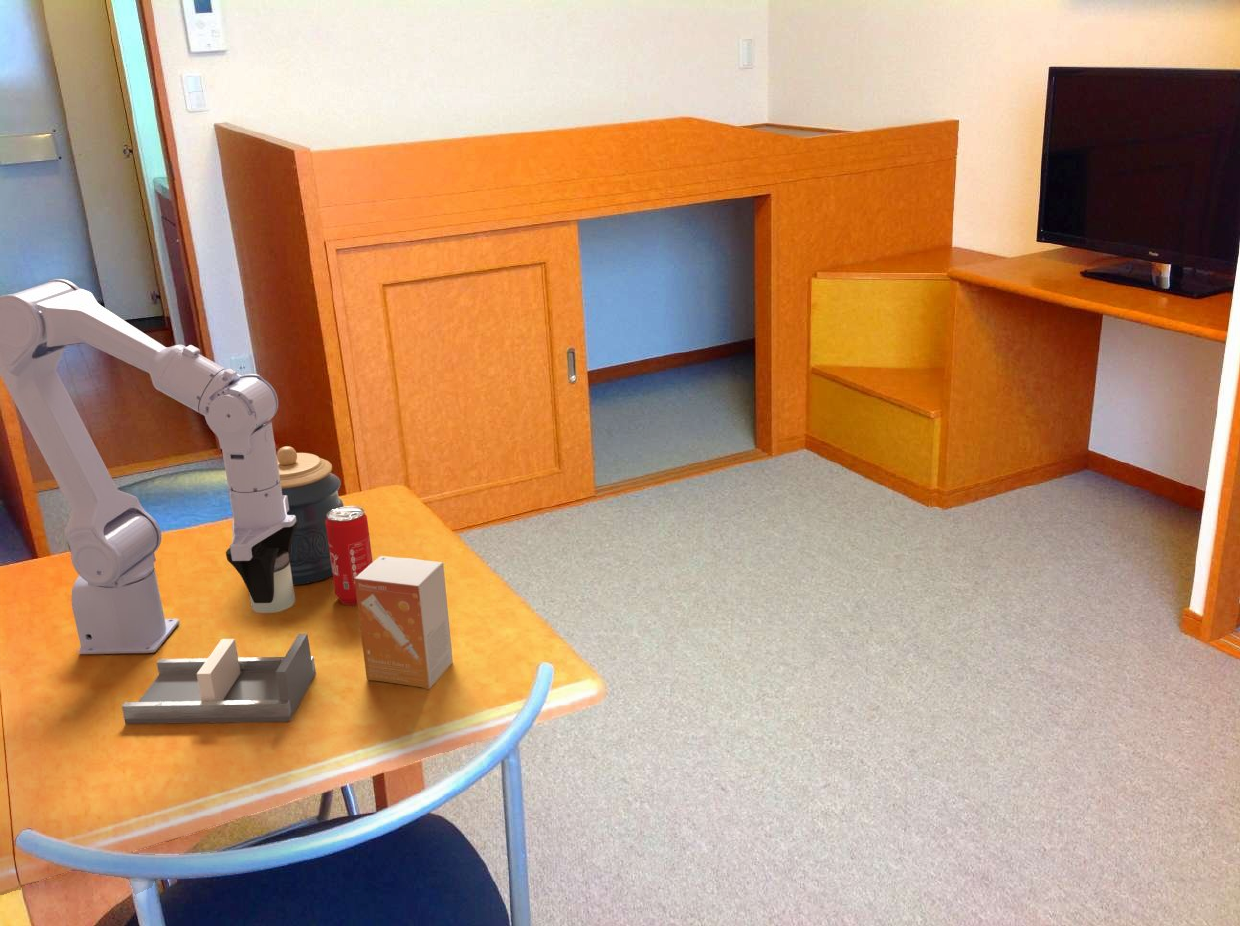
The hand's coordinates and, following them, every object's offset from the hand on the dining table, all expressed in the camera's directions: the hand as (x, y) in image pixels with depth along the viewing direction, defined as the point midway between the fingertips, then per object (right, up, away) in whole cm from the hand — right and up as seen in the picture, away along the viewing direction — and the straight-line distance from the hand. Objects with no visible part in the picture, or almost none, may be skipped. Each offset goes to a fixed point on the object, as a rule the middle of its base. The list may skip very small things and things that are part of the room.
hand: (271, 590), depth 137 cm
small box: (+17, -9, -4) cm, 20 cm away
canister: (-3, 0, +24) cm, 25 cm away
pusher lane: (-3, -11, -8) cm, 14 cm away
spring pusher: (-3, -11, -8) cm, 14 cm away
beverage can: (+7, -3, +15) cm, 16 cm away
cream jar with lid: (0, -2, +1) cm, 2 cm away
